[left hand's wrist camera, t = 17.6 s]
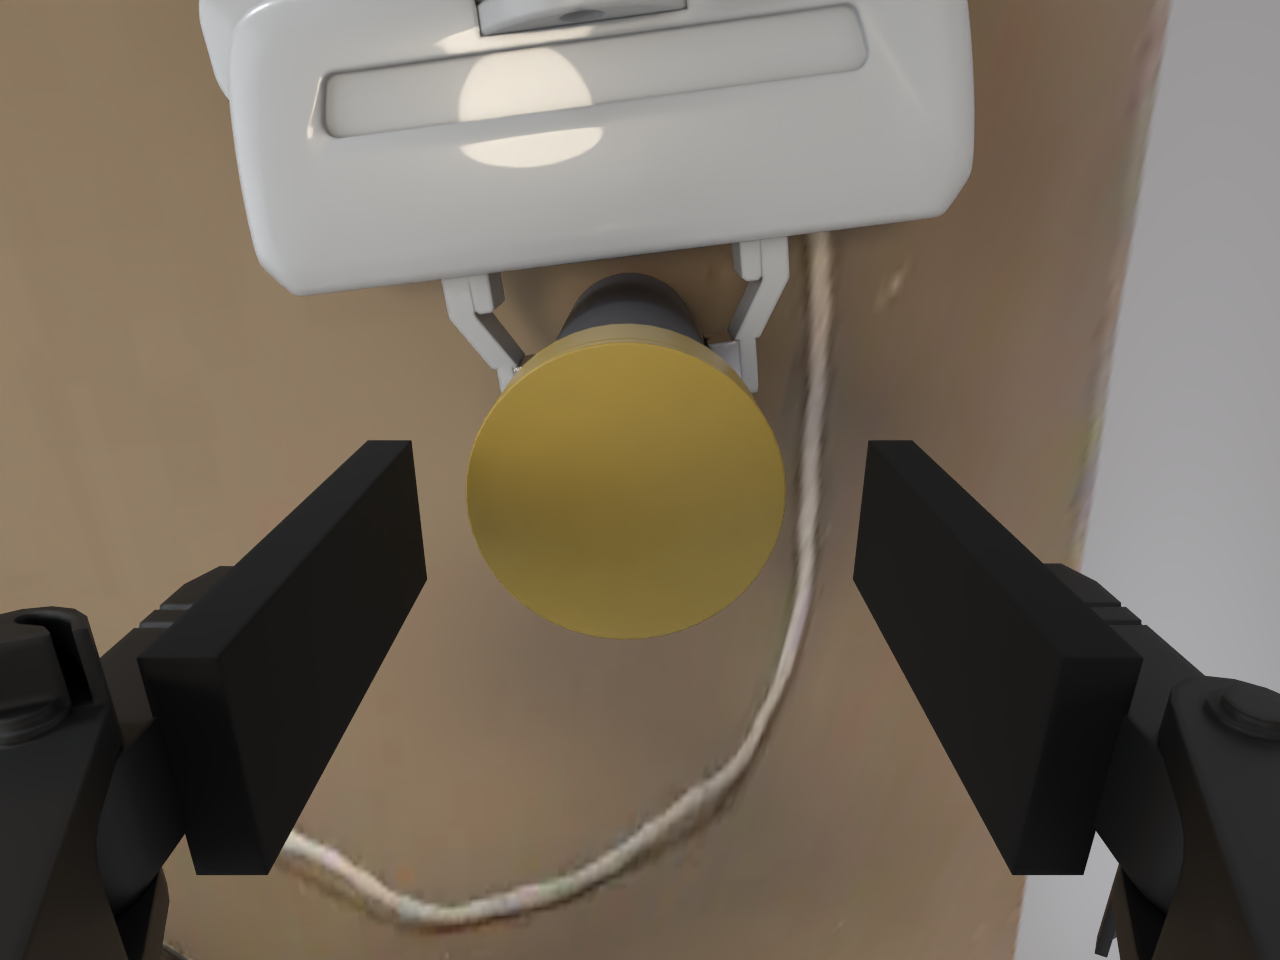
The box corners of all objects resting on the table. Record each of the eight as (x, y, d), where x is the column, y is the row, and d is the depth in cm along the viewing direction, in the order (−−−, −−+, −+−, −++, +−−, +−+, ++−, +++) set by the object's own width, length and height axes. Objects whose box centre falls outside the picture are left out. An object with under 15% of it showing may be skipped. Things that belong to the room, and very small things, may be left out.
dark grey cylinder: (720, 342, 31) (810, 499, 15) (627, 426, 32) (621, 651, 16) (632, 244, 29) (632, 305, 14) (539, 336, 30) (440, 487, 15)
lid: (826, 471, 17) (851, 508, 15) (621, 638, 18) (620, 692, 16) (633, 257, 15) (633, 268, 13) (426, 459, 16) (398, 495, 14)
